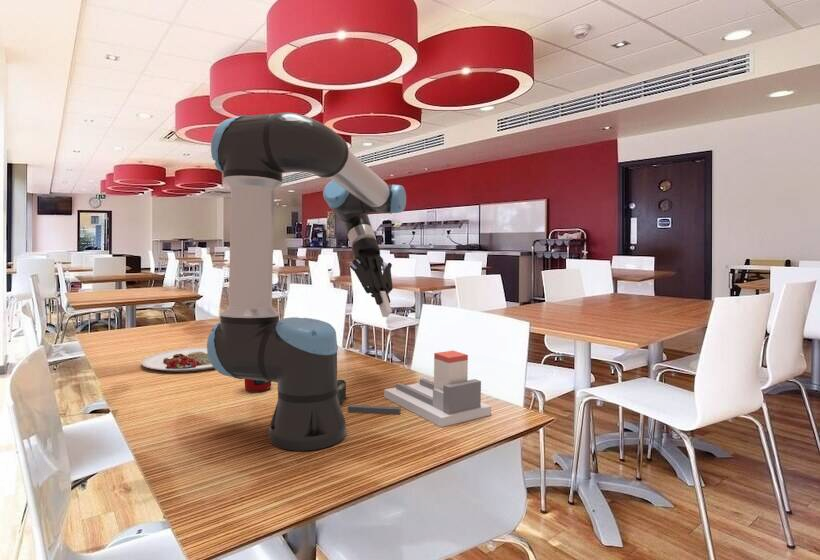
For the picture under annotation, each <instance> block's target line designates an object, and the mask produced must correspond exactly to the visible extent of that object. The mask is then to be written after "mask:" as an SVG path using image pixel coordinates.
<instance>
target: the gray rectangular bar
mask: <svg viewBox="0 0 820 560" xmlns="http://www.w3.org/2000/svg"><path fill="white" fill-rule="evenodd" d="M401 408H402V406H386V405H369V404H368V405H367V404H366V405H364V404H349V405H348V407H347V412H348V413H356V414H357V413H358V414H359V413H360V414H361V413H362V414H380V415H397V414H398V415H400V414H401Z"/></svg>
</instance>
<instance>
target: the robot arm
mask: <svg viewBox="0 0 820 560" xmlns="http://www.w3.org/2000/svg"><path fill="white" fill-rule="evenodd" d="M349 149H350V148H349V146H348V144H347V141H346V140H345V139H344V138H343V137H342V136H341V135H339V134H338V133H337V132H336V131H334V130H333V129H331V128H330V127H328V126H327V125H326V124H323V123H322V122H320V121H318V120H316V119H314V118H312V117H309V116H306V115H305V114H304V115H303V114H300V113H296V112H290V111H287V112H286V111H285V112H284V111H283V112H277V113H266V114H265V113H264V114H254V115H251V114H250V115H238V116H236V117H232V118H231V117H230V118H227V119H225V120H223V121H222V122H221V123H219V125H217V126H216V128H215V129H214V132H213V134H212V138H211V141H210V153H211V157H212V160H213V161H215V162H214V165H215V167H216V169H218V171H219V172H220V173H222V174H223V181H224V183H225V185H227V186H228V187H229V188H230V217H229V218H230V220H229V222H230V224H229V225H230V229H229V263H228V264H229V265H228V266H229V269H228V270H229V271H228V272H229V274H228V279H229V280H228V305H227V307H226V308H225V309H224V310H223V311H222V312H221V313H220V321H218V322H217V323H216V324H215V325H213V327H212V328H211V332H209V334H208V337H207V340H206V341H207V342H206V347H207V353H208V357H209V360H210V362H211V364H212V366H213V367H214V368H213V369H215V370H216V372H217V373H219V374H221V375H223V376H225V377H231V378H234V379H237V380H245V379H252V380H261V381H270V382H271V383H272V382H273V383H277V403H276V405H275V408H274V411H273V414H272V418H271V421H270V425H269V429H268V431H269V433H268V434H269V435H268V438H269V442H270V444H272V446H275V447H277V448H279V449H283V450H286V451H287V450H288V451H295V452H296V451H298V452H299V451H300V452H301V451H302V452H303V451H304V452H305V451H306V452H307V451H313V450H314V451H315V450H316V451H317V450H321V449H325V448H328V447H332V446H334V445H336V444H339V443H340V442H342V441H343V440H344V439H345V437H346V435H347V422H346V419H345V415H344V414H343V410H342V407H341V405H340V404H341V403H340V404H339V401H338V398H337V380H338V349H339V346H338V339H337V332H336V329H335V328H334V326H332V324H331V323H329V322H326V321H324V320H320V319H316V318H311V317H310V318H309V317H297V316H295V317H285V318H281V319H280V313H279V312H278V311H277V310H276V309H275V307H274V306H273V305H272V304H273V269H274V268H273V267H274V265H273V264H274V262H273V261H274V258H273V257H274V227H275V226H274V220H275V192H276V191H277V190H278V189H279V188H281V186H282V184H283V173H284V174H285V173H310V174H314V175H316V176H317V177H319V178H322V179H329V180H331V181H329V182H328V183H327V184H326V185H325V186H324V189H323V191H322V196H323V199H324V201H325V202H326V203H327V206H328V207H329V208H330V209H331V211H333V213H334V214H335V215H336V216H337V217H338V219H339V221H340V222H341V223H342V224H343V226H344V228H345V231H346V235H347V238H348V241H349V243H350V247H351V251H352V253H353V257H354V259H353V261H351V262H350V264H349V268H350V269H351V270H352V271H353V272H354V274H355V275H356V277H357V279H358V281H359V283H360V285H361V286H362V288H363V290H364V291H365V293H366V294H368V295H369V294H371V295H370V296H371V298H374V301H375V304H376V305H377V306H379V310H380V313H381V315H382V318H388V317H389V316H391V314H392V313H393V310H392V307H391V298H390V296H389V294H390V293H391V292H392V291H393V289H394V288H393V287H394V286H393V280H392V279H393V277H392V271H391V269H392V266H393V264H392V263H391V262H388V263H387V262H385V261H384V258H383V257H382V255H381V249H380V246H379V243H378V241H377V238H376V235H375V234H376V233H375V232H374V229H373V227H372V224H371V221H370V218H369V214H373V215H374V214H389V215H390V214H391V215H392V214H399V213H403V211H405V209H406V205H407V193H406V189H405V187H404V186H403V185H400V184H388V183H386V181H384V179H383V178H381V177H380V176H379V175H378V174H377V173H375V172H374V171H373V170H372V169H371V168H370V167H369V166H368V165H366V164H365V163H364V162H363V161H362V160H361V159H359V157H357V156H356V155H355V154H354V153H353V152H351V150H349ZM382 271H383V272H382Z"/></svg>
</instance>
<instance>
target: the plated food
mask: <svg viewBox="0 0 820 560" xmlns="http://www.w3.org/2000/svg"><path fill="white" fill-rule="evenodd" d="M141 365H142V366H143V367H144V368H148V369H151V370H157V371H158V370H159V371H165V372H174V373H177V372H180V373H181V372H195V371H203V370H211V369H215V368H214V367H213V366H212V364H211V362H210V360H209V357H208V353H207V346H206V347H189V348H188V347H187V348H179V349H174V350H173V349H172V350H168V351H163V352H158V353H155V354H154V353H153V354H152V355H149V356H147V357H144V358H143V359H141Z"/></svg>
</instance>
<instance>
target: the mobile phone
mask: <svg viewBox="0 0 820 560" xmlns="http://www.w3.org/2000/svg"><path fill="white" fill-rule="evenodd" d="M346 397H347V384H346V381H345V380H344V379H337V398H338V401H339V404H341V403H342V402H343V401H344V400H345V399H346Z"/></svg>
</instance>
